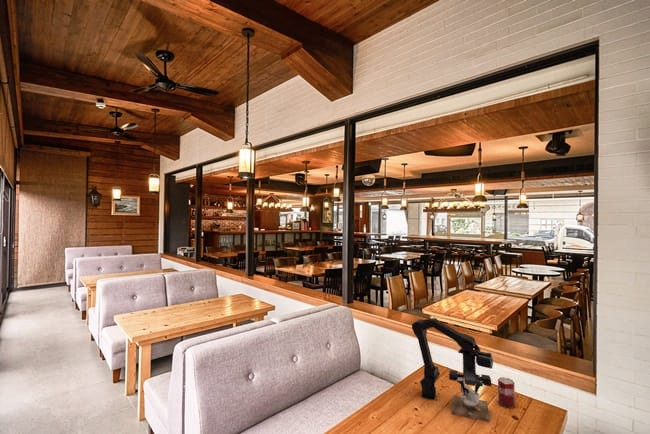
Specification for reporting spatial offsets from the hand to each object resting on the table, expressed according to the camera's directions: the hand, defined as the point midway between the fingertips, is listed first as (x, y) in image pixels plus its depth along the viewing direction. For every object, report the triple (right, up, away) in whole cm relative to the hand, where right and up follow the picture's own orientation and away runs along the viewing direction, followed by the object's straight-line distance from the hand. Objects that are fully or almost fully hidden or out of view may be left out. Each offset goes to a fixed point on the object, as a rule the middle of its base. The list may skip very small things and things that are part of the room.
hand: (469, 395), depth 157 cm
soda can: (+20, -7, +4) cm, 22 cm away
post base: (0, -7, 0) cm, 7 cm away
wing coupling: (0, -5, 0) cm, 5 cm away
